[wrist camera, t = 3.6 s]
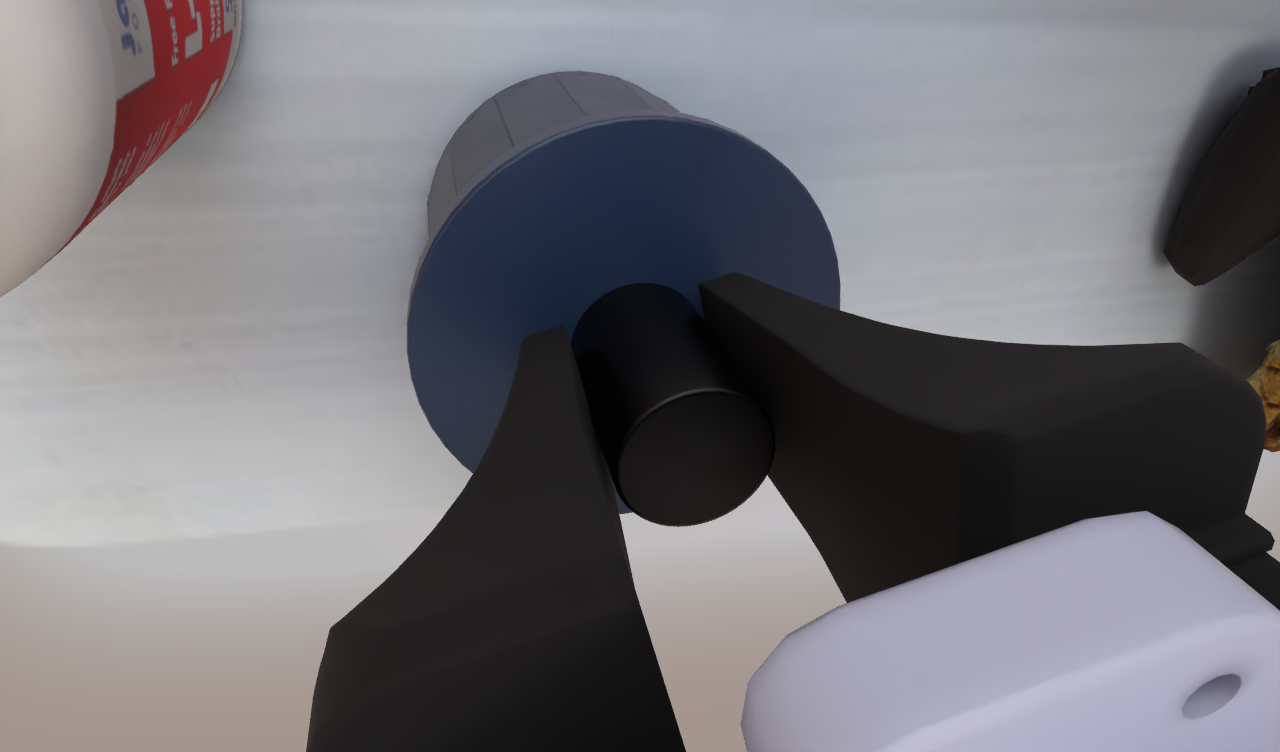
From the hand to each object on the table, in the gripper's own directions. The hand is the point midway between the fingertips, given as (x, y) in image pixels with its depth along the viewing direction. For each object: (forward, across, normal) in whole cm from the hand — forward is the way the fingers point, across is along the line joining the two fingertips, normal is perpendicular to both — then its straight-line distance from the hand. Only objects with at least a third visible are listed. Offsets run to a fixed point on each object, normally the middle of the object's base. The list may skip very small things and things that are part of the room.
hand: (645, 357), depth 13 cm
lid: (+1, 0, 0) cm, 1 cm away
